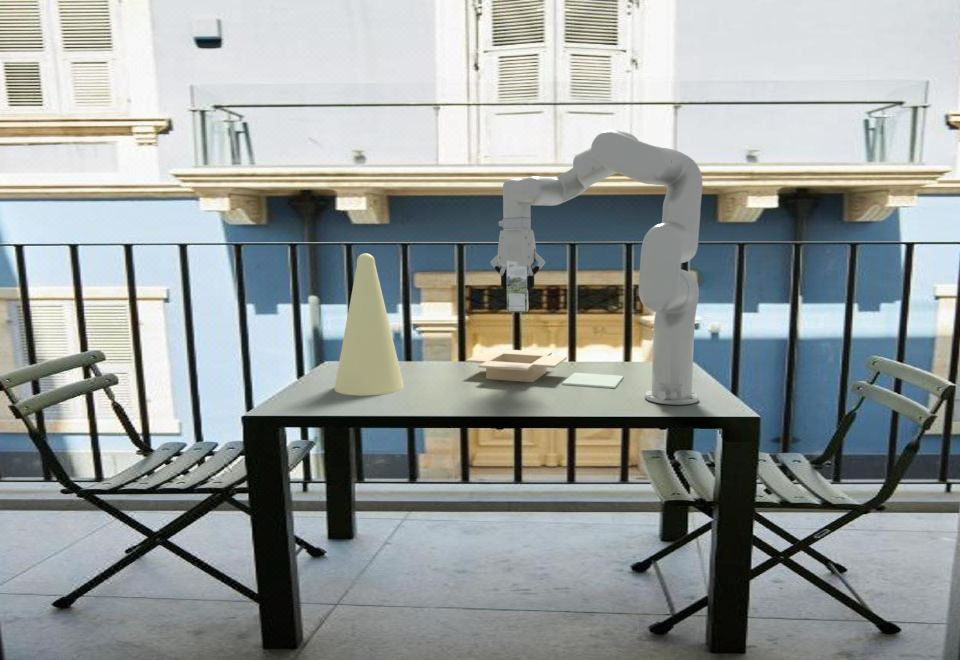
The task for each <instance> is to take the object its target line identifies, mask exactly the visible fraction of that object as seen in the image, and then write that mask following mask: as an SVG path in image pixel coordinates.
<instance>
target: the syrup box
mask: <svg viewBox="0 0 960 660" xmlns="http://www.w3.org/2000/svg"><path fill="white" fill-rule="evenodd" d="M506 264H507V290H506V312H507V313H527V312H528V311H529V290H527V276H528V274H529V273H528V271H527V266H519V265H518V263H517V262H516V261H515V262H513V261H507V263H506Z"/></svg>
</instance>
